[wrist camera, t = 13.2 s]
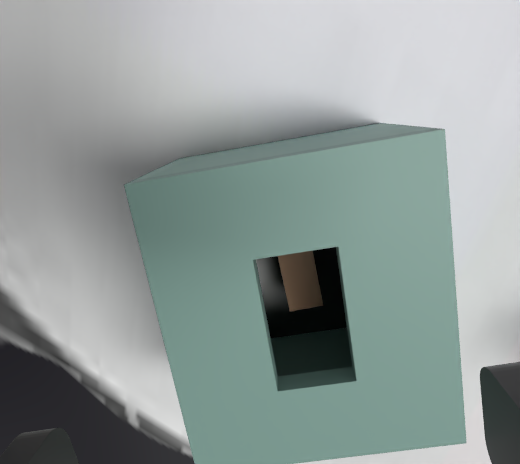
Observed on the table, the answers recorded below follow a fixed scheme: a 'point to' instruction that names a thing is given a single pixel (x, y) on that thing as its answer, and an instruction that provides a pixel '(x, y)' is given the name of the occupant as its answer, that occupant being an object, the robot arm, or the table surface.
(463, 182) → the table surface
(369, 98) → the table surface
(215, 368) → the box
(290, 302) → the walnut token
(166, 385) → the table surface
